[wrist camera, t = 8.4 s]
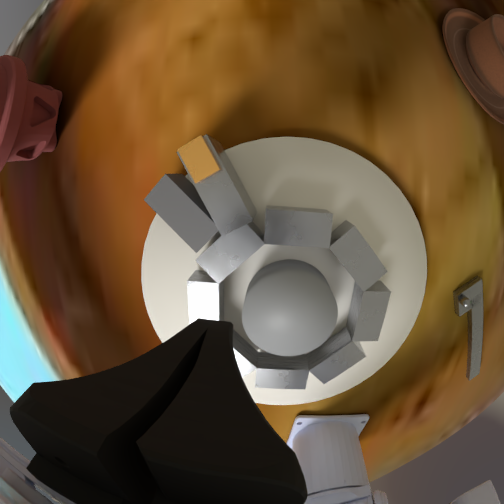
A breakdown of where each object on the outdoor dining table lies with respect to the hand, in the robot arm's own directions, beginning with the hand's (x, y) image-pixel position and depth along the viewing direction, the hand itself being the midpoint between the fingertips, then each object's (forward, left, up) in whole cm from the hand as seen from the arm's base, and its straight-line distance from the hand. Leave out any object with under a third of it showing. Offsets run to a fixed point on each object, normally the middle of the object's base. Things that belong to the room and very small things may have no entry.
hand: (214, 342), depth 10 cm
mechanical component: (+11, +20, -10) cm, 24 cm away
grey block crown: (0, -3, -9) cm, 9 cm away
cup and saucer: (+21, -20, -10) cm, 31 cm away
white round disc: (-2, -3, -10) cm, 11 cm away
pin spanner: (-6, -23, -10) cm, 26 cm away
